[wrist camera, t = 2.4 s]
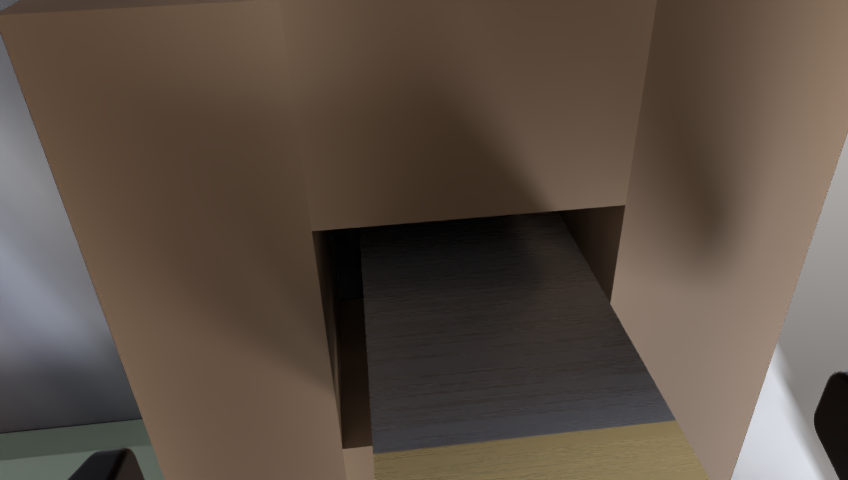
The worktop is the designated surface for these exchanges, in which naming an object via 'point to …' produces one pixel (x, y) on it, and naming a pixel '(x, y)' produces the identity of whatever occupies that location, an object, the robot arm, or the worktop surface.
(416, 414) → the pin
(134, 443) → the tray
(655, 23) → the brown block with hole
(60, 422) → the worktop surface
